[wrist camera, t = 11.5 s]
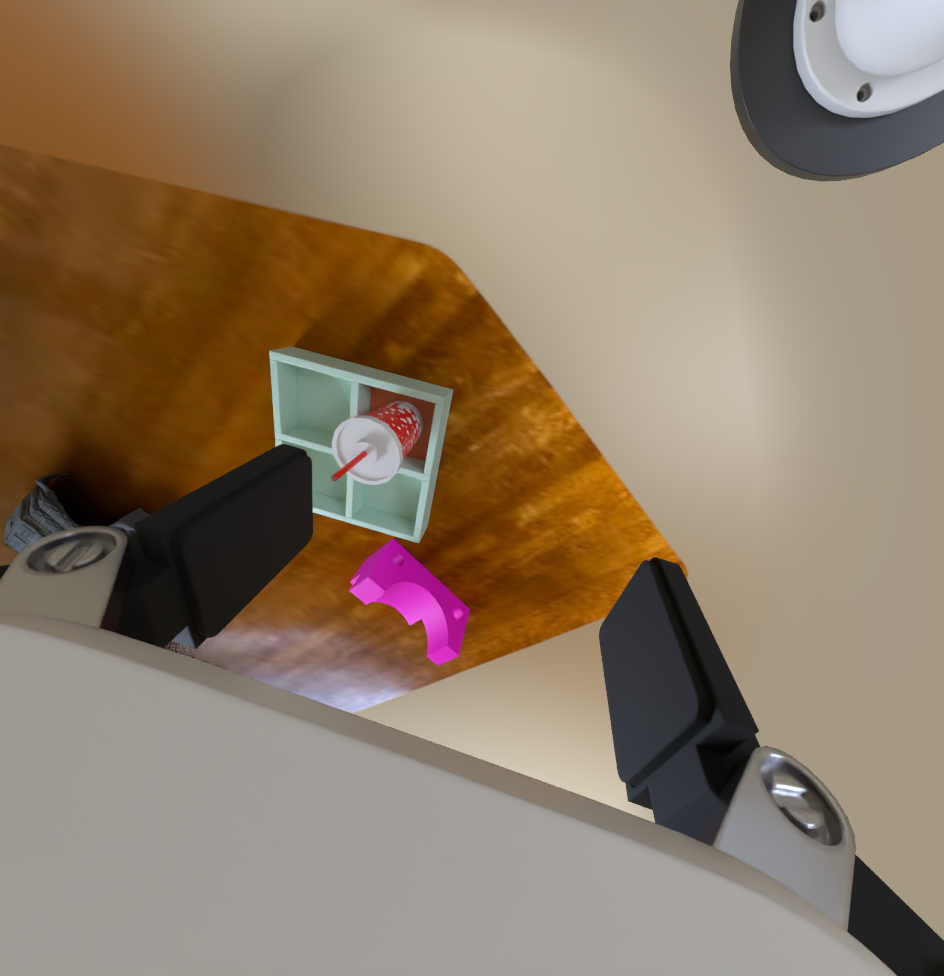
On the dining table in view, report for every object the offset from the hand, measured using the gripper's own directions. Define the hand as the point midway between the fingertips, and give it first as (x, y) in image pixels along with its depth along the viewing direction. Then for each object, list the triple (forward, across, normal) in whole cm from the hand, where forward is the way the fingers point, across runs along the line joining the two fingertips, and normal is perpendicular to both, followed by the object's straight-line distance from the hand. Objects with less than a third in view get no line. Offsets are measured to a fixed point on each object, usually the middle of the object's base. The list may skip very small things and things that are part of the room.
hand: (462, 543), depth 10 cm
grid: (+27, +15, +13) cm, 33 cm away
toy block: (+27, +6, +32) cm, 42 cm away
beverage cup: (+26, +11, +8) cm, 30 cm away
